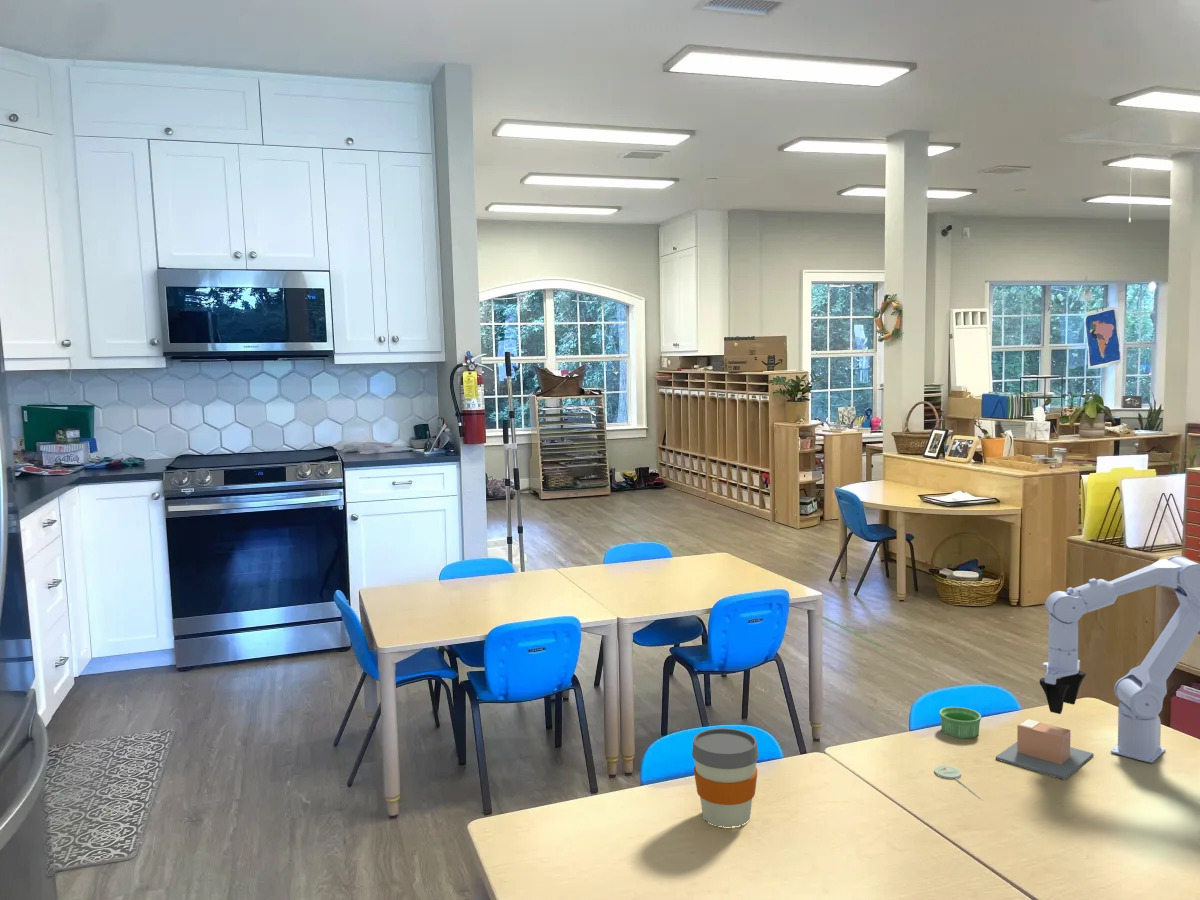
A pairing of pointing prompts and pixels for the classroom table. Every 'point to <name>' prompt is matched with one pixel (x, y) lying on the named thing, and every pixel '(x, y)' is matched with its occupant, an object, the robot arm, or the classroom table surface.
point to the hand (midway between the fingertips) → (1062, 707)
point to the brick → (1043, 741)
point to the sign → (950, 774)
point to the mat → (1046, 766)
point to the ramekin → (960, 722)
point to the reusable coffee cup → (725, 774)
